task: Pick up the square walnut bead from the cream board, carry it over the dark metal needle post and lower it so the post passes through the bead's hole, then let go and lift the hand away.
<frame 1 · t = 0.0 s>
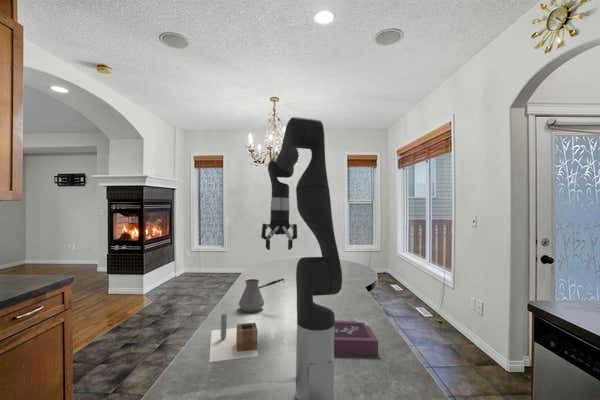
hand: (279, 249, 113), 29 cm above the countertop, fingers open, 8 cm apart
book: (335, 344, 97), on the countertop
coffee pot: (261, 310, 127), on the countertop
walnut bead: (246, 346, 90), point 1 cm above the countertop, touching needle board
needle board: (232, 346, 92), on the countertop
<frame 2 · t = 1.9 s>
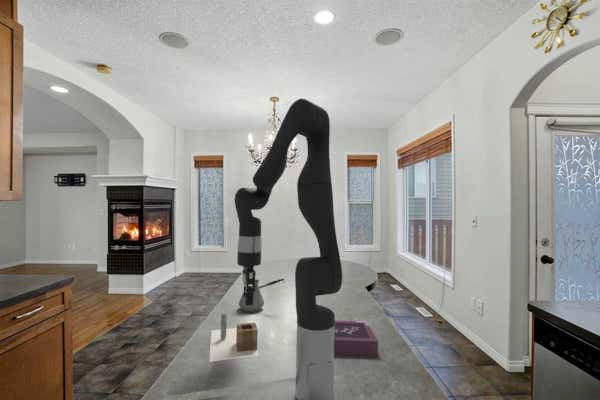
hand: (248, 300, 91), 16 cm above the countertop, fingers open, 8 cm apart
nothing on the countertop moved.
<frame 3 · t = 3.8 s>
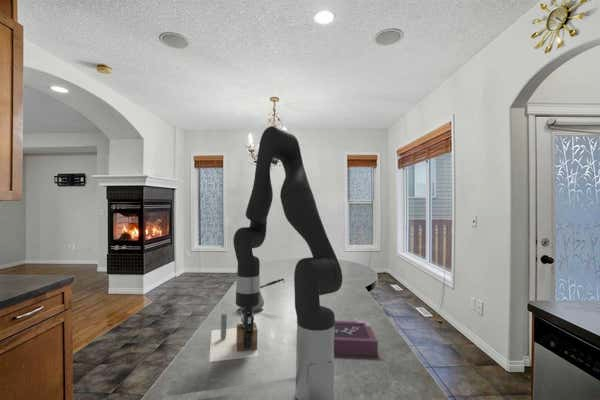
hand: (246, 342, 90), 3 cm above the countertop, fingers closed on walnut bead, 6 cm apart
walnut bead: (246, 346, 90), point 2 cm above the countertop, touching gripper, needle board
everything else where it was.
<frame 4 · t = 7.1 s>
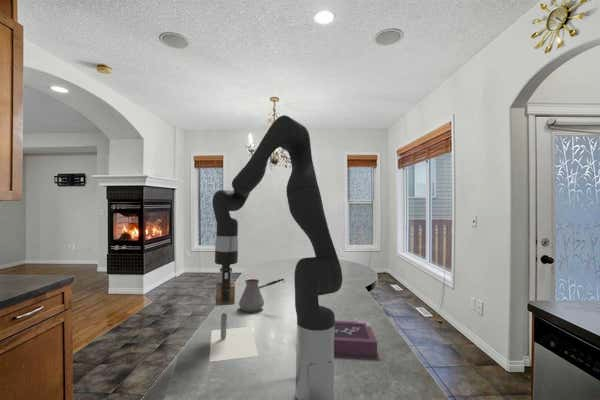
hand: (225, 298, 95), 15 cm above the countertop, fingers closed on walnut bead, 6 cm apart
walnut bead: (224, 302, 95), point 14 cm above the countertop, touching gripper
everything else where it was.
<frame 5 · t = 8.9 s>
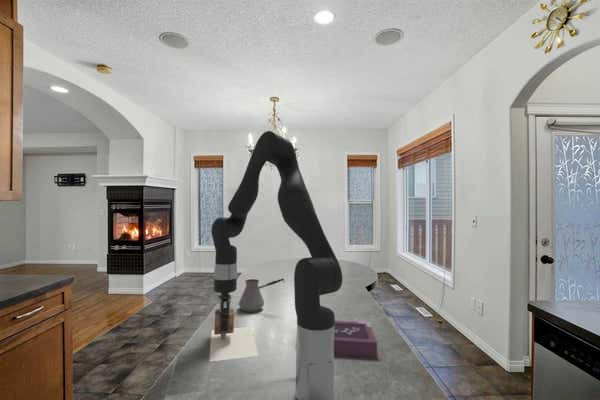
hand: (223, 326, 95), 5 cm above the countertop, fingers closed on walnut bead, 6 cm apart
walnut bead: (223, 330, 95), point 4 cm above the countertop, touching gripper
everything else where it was.
when the fingers open (4 cm above the countertop, at t = 10.2 s): walnut bead drops 1 cm, resting on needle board.
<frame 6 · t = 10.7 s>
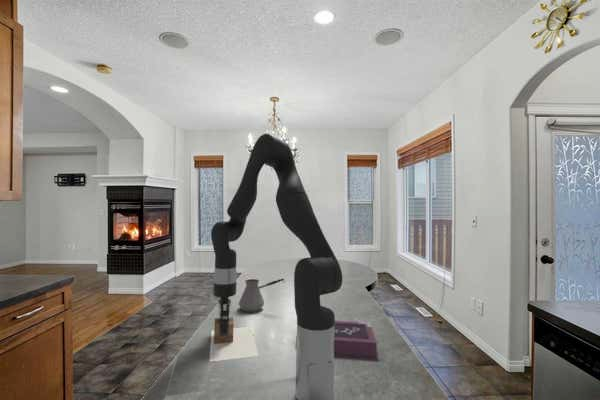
hand: (223, 329, 95), 5 cm above the countertop, fingers open, 8 cm apart
walnut bead: (223, 339, 94), point 1 cm above the countertop, touching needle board
everything else where it was.
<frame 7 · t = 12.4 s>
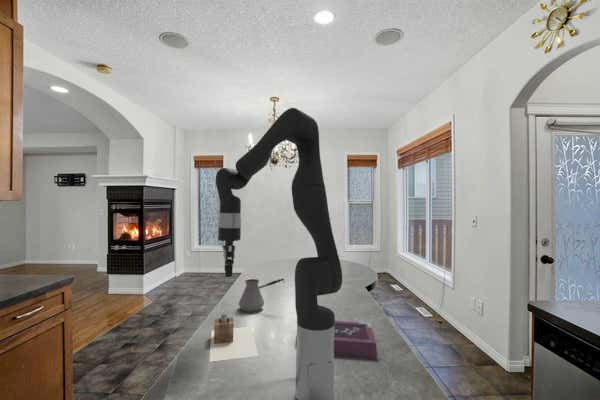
hand: (228, 273, 97), 23 cm above the countertop, fingers open, 8 cm apart
nothing on the countertop moved.
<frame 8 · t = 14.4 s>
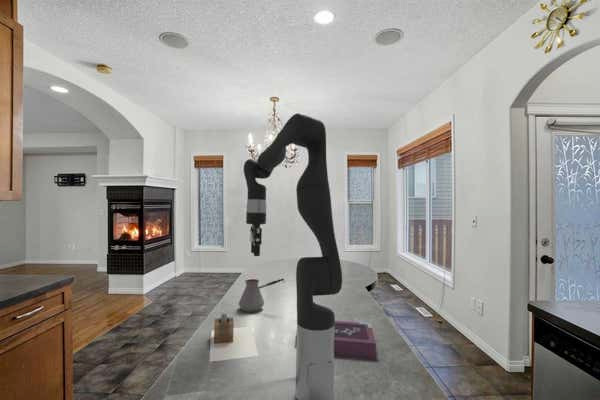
hand: (255, 254, 107), 28 cm above the countertop, fingers open, 8 cm apart
at the end: walnut bead 0.1 cm from the target spot on the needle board, point 1.5 cm above the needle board's base; the gripper is holding nothing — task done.
